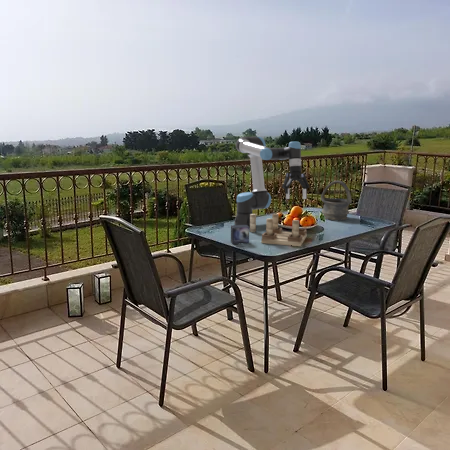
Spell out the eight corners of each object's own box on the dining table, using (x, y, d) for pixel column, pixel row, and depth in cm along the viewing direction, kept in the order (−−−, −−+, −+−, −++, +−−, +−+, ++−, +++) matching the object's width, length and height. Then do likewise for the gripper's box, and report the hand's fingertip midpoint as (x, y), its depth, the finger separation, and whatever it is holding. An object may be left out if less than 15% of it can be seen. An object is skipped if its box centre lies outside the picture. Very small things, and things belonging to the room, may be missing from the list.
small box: (232, 244, 244) (232, 227, 242) (230, 241, 250) (230, 225, 248) (249, 243, 246) (249, 226, 244) (246, 240, 252) (246, 224, 250)
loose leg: (250, 230, 278) (251, 213, 276) (256, 231, 277) (256, 214, 274) (249, 232, 275) (249, 214, 272) (254, 232, 273) (255, 215, 271)
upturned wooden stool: (270, 234, 269) (270, 212, 266) (306, 236, 261) (307, 215, 258) (261, 242, 247) (261, 219, 244) (300, 246, 239) (301, 222, 236)
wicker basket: (338, 222, 304) (340, 182, 297) (314, 217, 322) (316, 180, 316) (356, 218, 317) (358, 180, 310) (332, 214, 335) (334, 178, 328)
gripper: (283, 164, 249) (284, 198, 250) (314, 165, 261) (315, 198, 261) (276, 166, 256) (277, 199, 256) (306, 167, 268) (307, 199, 268)
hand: (296, 199), depth 259 cm, fingers open, 13 cm apart
